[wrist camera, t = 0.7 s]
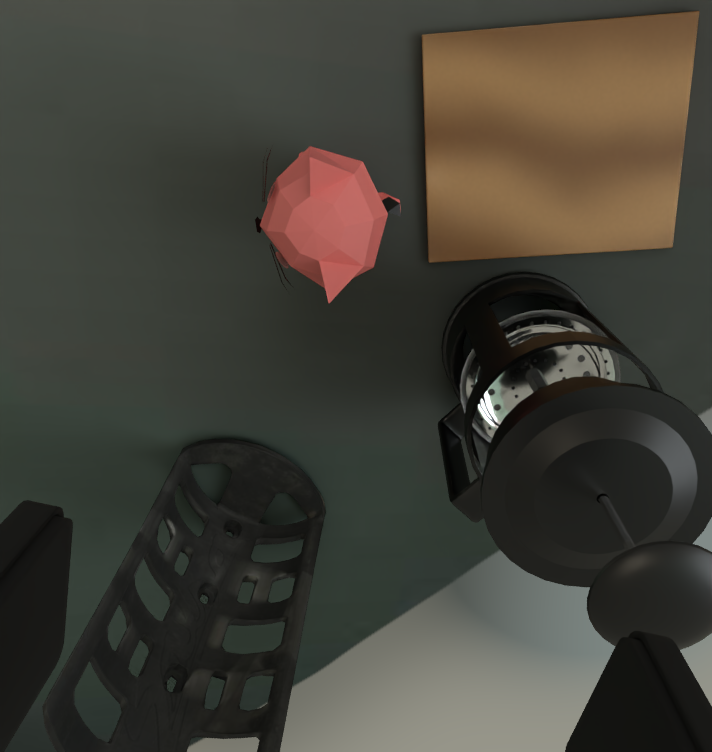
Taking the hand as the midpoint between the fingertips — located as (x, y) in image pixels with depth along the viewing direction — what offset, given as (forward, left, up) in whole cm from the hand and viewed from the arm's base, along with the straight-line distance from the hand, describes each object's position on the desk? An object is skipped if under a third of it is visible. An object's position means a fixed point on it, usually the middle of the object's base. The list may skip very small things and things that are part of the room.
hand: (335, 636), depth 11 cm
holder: (+16, -10, -30) cm, 35 cm away
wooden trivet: (-6, +10, -30) cm, 32 cm away
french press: (+6, +8, -30) cm, 32 cm away
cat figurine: (-4, -2, -30) cm, 30 cm away
